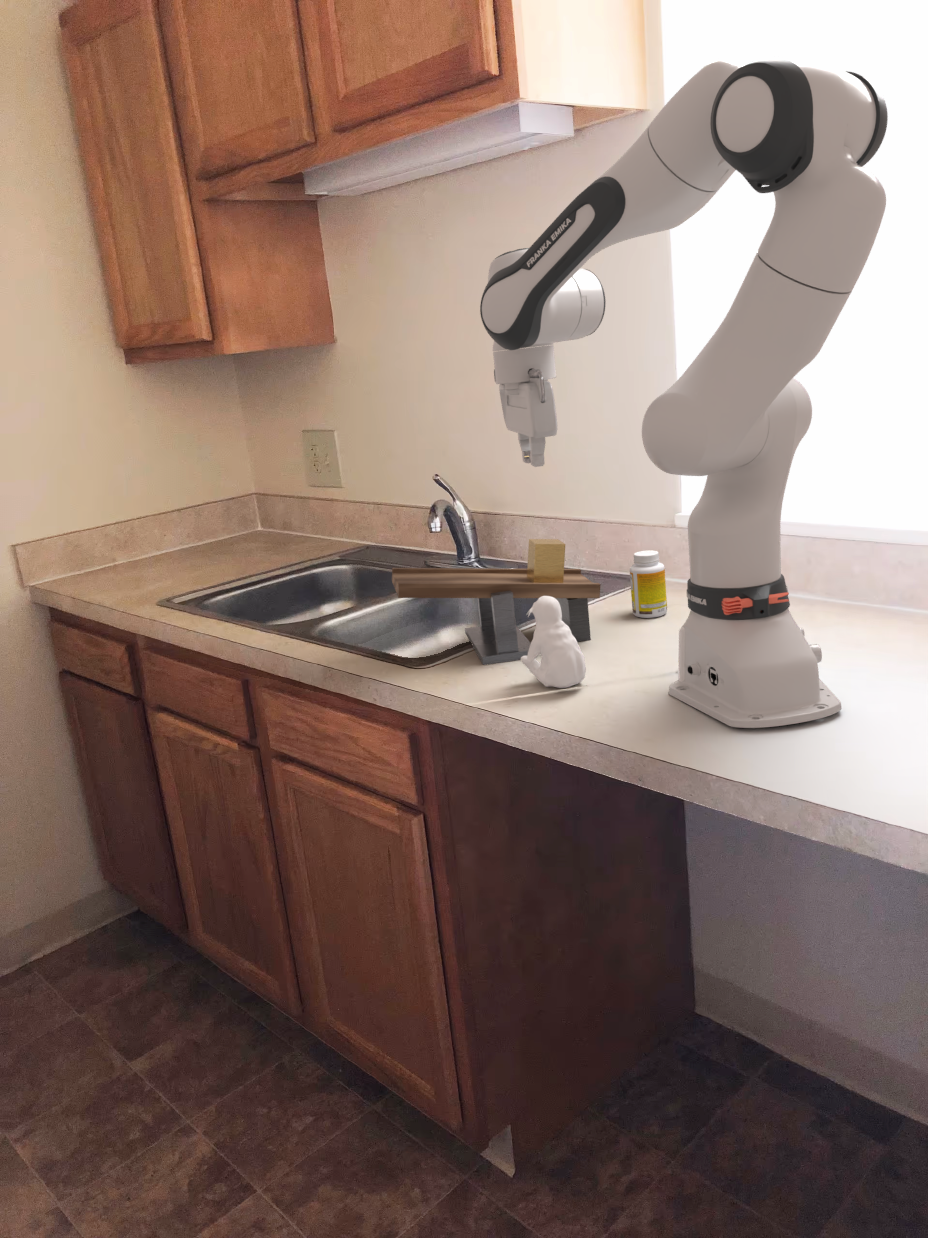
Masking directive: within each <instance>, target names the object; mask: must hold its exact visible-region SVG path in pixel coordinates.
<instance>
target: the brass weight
mask: <svg viewBox="0 0 928 1238" xmlns="http://www.w3.org/2000/svg"><path fill="white" fill-rule="evenodd" d="M527 551H528V552H527V568H526V569H527V578H528V579H529V580H530V581H531V582H532V583H563V577H564V569H565V561H566V560H565V559H566V558H565V557H566V543H564V541H561V540H560V539H559V538H558V539H557V538H555V539H554V538H529V539H528V548H527Z"/></svg>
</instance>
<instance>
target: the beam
mask: <svg viewBox="0 0 928 1238" xmlns="http://www.w3.org/2000/svg"><path fill="white" fill-rule="evenodd" d="M391 582H392V585H393V588H394V590H395V592H396V596H397V597H398V599H477V598H491V593H498V592H505V591H511V592H512V593H513V599H539V598H540V597H542V596H551V597H554V598H555V599H556V598H587V599H600V597H601V583H599V582H593V581H592V580H590V579H588V578H587V577H586V576H584V574H582V570H581V569H580V568H564V577H563V583H532V582H531V581H530V580H529V579H528V578H527V568H503V567H502V568H491V567H490V568H488V567H487V568H486V567H484V568H483V567H482V568H481V567H480V568H479V567H478V568H477V567H475V568H474V567H473V568H468V567H462V568H461V567H460V568H459V567H457V568H456V567H450V568H449V567H392V568H391Z"/></svg>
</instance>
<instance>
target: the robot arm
mask: <svg viewBox="0 0 928 1238" xmlns="http://www.w3.org/2000/svg"><path fill="white" fill-rule="evenodd" d="M888 115H889V114H888V107H887V104H886V100H885V98H884V95H883V94H882V93H881V91H880V89H879V88H878V87H877V86H876V85H875V84H874V83H873V82H872V81H871V80H869V79H867V78H866V77H864V76H863V75H861V74H858V73H856V72H852V71H847V70H846V71H844V70H841V69H838V68H835V67H832V66H830V65H828V64H826V63H823V62H821V61H815V60H809V59H805V60H804V59H788V58H784V57H779V56H778V57H775V56H774V57H767V58H759V59H757V60H753V61H750V62H748V63H744V62H743V61H740V60H736V59H733V58H720V59H719V58H718V59H716V60H713V61H711V62H709V63H707V64H706V65H704V66H703V67H702V68H701V69H700V70H699V71H698V72H697V73H696V74H694V75H693V76H692V77H691V78H690V79H688V81H687V82H686V83H685V84H684V85H683V86H681V87H680V89H679V90H677V92H676V93H675V94H674V95H673V96H672V97H671V98H669V100H668V102H666V103H665V105H664V106H663V107H662V108H661V110H659V112H658V113H657V114H656V116H655V117H654V118H653V120H652V121H651V122H650V123H649V125H647V128H646V129H645V130H644V131H643V132H642V134H641V135H640V136H639V137H638V138H637V139H636V141H634V143H632V145H631V146H630V147H629V148H628V149H627V150H626V152H624V153H623V154H622V156H620V158H619V159H618V160H617V161H616V162H614V164H613V165H611V167H609V168H608V169H607V170H606V171H605V172H604V173H603V174H602V175H600V176H599V177H598V178H596V179H595V180H594V181H593V182H592V183H590V185H588V186H587V187H586V188H585V189H584V190H583V191H581V192H580V193H579V194H578V195H577V196H576V197H575V198H573V200H572V201H571V202H570V203H569V204H568V205H567V206H566V207H565V209H563V211H561V213H560V214H559V215H558V216H557V217H555V219H554V220H553V221H552V223H550V225H549V226H548V227H547V228H546V229H545V230H544V231H543V232H542V233H541V234H540V236H539V237H538V238H537V239H536V240H535V241H534V242H533V243H532V244H531V245H530V246H529V247H524V248H519V249H515V250H509V251H507V252H504V253H502V254H500V255H498V256H497V257H496V258H494V259H493V260H492V261H491V262H490V265H489V269H488V276H487V283H486V285H485V288H484V290H483V293H482V295H481V299H480V306H479V307H480V310H479V315H480V318H481V322H482V325H483V327H484V329H485V331H486V332H487V334H488V335H489V336H490V337H491V339H492V340H493V345H492V355H493V365H494V369H493V378H494V382H495V384H496V385H498V386H499V387H498V389H499V390H498V391H499V396H500V397H499V398H500V403H501V408H502V415H503V420H504V423H505V426H506V429H507V430H508V431H510V432H513V433H517V438H518V439H517V440H518V443H519V448H520V451H521V457H522V462H523V463H525V464H530V465H531V466H532V467H534V468H537V467H544V465H545V461H546V460H545V449H546V438H548V437H554V436H556V435H557V433H558V418H557V407H556V401H555V394H554V389H553V385H552V383H551V382H550V381H549V380H551V379H555V378H557V371H556V370H557V369H556V360H555V359H556V358H555V356H556V355H555V346H554V343H561V342H567V341H574V340H580V339H583V338H585V337H588V336H590V335H592V334H594V333H595V332H596V331H597V330H598V328H599V327H600V325H601V324H602V321H603V319H604V316H605V311H606V304H607V303H606V301H607V300H606V293H605V289H604V286H603V284H602V283H601V281H600V279H599V278H598V276H597V275H596V274H595V273H594V271H591V270H590V269H588V268H582V267H583V266H584V265H585V264H586V263H587V262H588V261H589V260H590V259H592V258H593V256H595V255H597V254H598V253H599V252H601V251H602V250H605V249H607V248H609V247H611V246H614V245H616V244H619V243H621V242H625V241H627V240H631V239H634V238H638V237H639V238H640V237H642V236H647V235H650V234H655V233H659V232H665V231H669V230H672V229H674V228H677V227H679V226H681V225H682V224H684V223H685V222H686V221H687V220H689V219H690V218H692V217H693V216H694V215H695V214H696V213H698V212H699V211H700V210H702V208H704V207H705V206H706V205H707V204H708V203H709V202H710V201H711V199H713V197H714V196H715V195H716V194H717V193H718V192H719V190H720V189H721V188H722V187H723V185H724V184H726V183H727V181H728V180H729V179H730V178H731V176H732V175H733V174H734V173H735V171H737V172H738V173H740V174H741V175H742V177H744V179H745V180H746V181H747V183H748V184H749V185H750V187H751V188H752V189H754V190H755V191H756V193H759V194H768V193H769V194H770V193H773V195H774V200H775V202H774V203H775V208H774V213H773V216H772V219H771V221H770V224H769V226H768V228H767V231H766V233H765V235H764V237H763V239H762V241H761V243H760V245H759V247H758V249H757V251H756V254H755V256H754V257H753V260H752V263H751V264H750V267H749V269H748V271H747V272H746V275H745V276H744V279H743V281H742V284H741V285H740V288H739V289H738V291H737V294H736V296H735V298H734V300H733V301H732V304H731V307H730V308H729V310H728V312H727V314H726V316H725V317H724V318H723V320H722V322H721V323H720V324H719V326H718V328H717V330H716V331H715V332H714V333H713V335H712V336H711V337H710V338H709V340H708V341H707V343H706V344H705V345H704V346H703V348H702V349H701V351H700V352H699V353H698V355H696V357H695V358H694V359H693V361H692V362H691V364H690V365H689V366H688V367H687V369H685V371H684V372H683V373H682V375H681V376H680V377H679V378H678V379H677V380H676V381H675V382H674V383H673V384H672V385H671V386H669V388H667V390H665V391H664V392H663V393H662V394H660V395H659V396H657V397H656V398H655V399H654V400H653V401H652V402H651V403H650V404H649V405H648V407H647V408H646V410H645V414H644V416H643V419H642V424H641V439H642V444H643V448H644V450H645V452H646V455H647V457H648V458H649V460H650V462H652V463H653V465H655V467H657V468H658V469H659V470H660V471H662V472H664V473H666V474H669V475H673V476H674V475H676V476H686V477H687V476H689V477H704V476H706V481H705V483H704V488H703V491H702V494H701V497H700V498H699V500H698V502H697V503H696V506H694V508H693V509H692V511H691V513H690V514H689V518H688V521H687V539H688V556H689V557H688V558H689V559H688V560H689V561H688V562H689V576H690V578H688V580H687V582H686V583H687V585H686V587H687V588H686V597H687V607H688V609H689V610H690V612H689V614H688V616H687V618H686V620H685V622H684V623H683V625H682V626H681V627H680V628H679V630H678V631H679V632H678V673H677V674H678V679H677V680H676V681H674V682H672V683H671V684H669V686H668V694H669V695H670V696H671V697H673V698H676V699H678V700H679V701H681V702H683V703H685V704H687V705H689V706H690V707H693V708H695V709H696V710H698V711H700V712H702V713H704V714H706V715H708V716H710V717H711V718H713V719H715V720H717V721H719V722H721V723H723V724H725V725H727V726H729V727H731V728H741V729H742V728H744V729H755V728H757V729H758V728H760V729H761V728H770V727H779V726H780V727H781V726H787V725H788V726H789V725H794V724H799V723H800V724H801V723H806V722H811V721H816V720H819V719H823V718H826V717H830V716H832V715H834V714H837V713H838V712H840V711H841V710H842V709H843V708H842V702H841V701H840V699H839V698H838V697H837V696H836V695H835V694H834V693H833V691H832V690H831V689H830V688H829V687H828V685H826V684H825V683H824V682H823V680H821V678H820V674H819V672H820V671H819V665H818V663H820V662H821V661H822V659H823V658H822V657H823V653H822V648H821V646H820V644H817V643H814V644H813V643H812V644H809V642H808V641H807V639H806V637H805V630H804V628H803V627H800V626H799V625H798V623H797V622H796V620H795V619H794V617H793V615H792V613H791V612H790V609H789V608H790V606H791V603H790V597H789V594H790V593H789V590H788V586H787V584H786V578H785V576H784V575H783V573H782V560H781V559H782V558H781V556H782V555H781V551H782V550H781V520H782V508H783V502H784V501H783V500H784V497H785V491H786V487H787V482H788V479H789V475H790V470H791V467H792V463H793V459H794V457H795V454H796V451H797V448H798V447H799V445H800V443H801V441H802V440H803V438H804V437H806V436H805V435H806V434H807V433H808V430H809V428H810V426H811V422H812V418H813V417H812V416H813V407H812V401H811V398H810V396H809V393H808V391H807V389H806V388H805V387H804V386H803V384H802V383H801V382H800V381H798V380H797V379H796V378H795V377H796V375H798V373H800V371H802V370H803V369H804V368H806V366H808V365H810V363H811V362H812V361H814V359H815V358H816V357H817V355H818V354H819V353H820V351H821V350H822V348H823V346H824V344H825V342H826V340H827V338H828V336H830V333H831V330H832V329H833V327H834V326H835V323H836V322H837V320H838V318H839V316H840V314H841V312H842V310H843V309H844V307H845V305H846V303H847V301H848V299H849V298H850V295H851V294H852V292H853V289H854V288H855V285H856V284H857V283H858V280H859V278H860V275H861V274H862V272H863V270H864V267H865V265H866V263H867V261H868V259H869V256H870V253H871V251H872V249H873V247H874V243H875V241H876V238H877V235H878V233H879V229H880V227H881V224H882V220H883V217H884V214H885V210H886V206H887V196H886V195H887V194H886V191H885V189H884V187H883V184H882V183H881V182H880V181H879V179H878V178H877V177H876V176H875V175H874V174H873V173H872V172H871V171H870V170H868V169H866V168H865V167H864V166H865V165H867V163H869V162H870V161H871V159H872V158H874V156H875V155H876V153H877V152H878V151H879V149H880V147H881V145H882V143H883V141H884V138H885V135H886V133H887V132H886V131H887V128H888V127H887V126H888V119H889V118H888V117H889V116H888Z"/></svg>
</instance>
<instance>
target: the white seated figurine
mask: <svg viewBox="0 0 928 1238" xmlns="http://www.w3.org/2000/svg"><path fill="white" fill-rule="evenodd" d="M531 614H532V615H533V616H534V619H535V629H534V631H533V637H532V640H531V641H530V643H531V645H530V648H529V651H528V655H527V656H522V657H521V660H520V662H521V664H523V665H524V666H525V667H526V668H527V669H529V672H530V673H531V674H532V675H533V677H535V678H536V680H537V681H539V682H540V683H541V684H542V685H543V686H544V687H553V688H558V689H565V688H571V687H573V686H574V685H577V684H580V683H581V682H582V681H583V680H584V679H585V678H586V671H587V667H586V661H585V660H586V659H585V655H584V653H583V652H582V649H581V647H580V645H579V642H577V640H576V639H575V637H574V636H573V635H572V632H571V630H570V628H569V627H568V625H566V624H565V623H564V622H563V621H562V612H561V607H560V604H559V602H558V601H557V599H556V598H554V597H551V596H542V597H540V598H537V600H536V601H535V602H533V604H532V606H531V608H530V609H529V610H528V611H527V613H526V615H525V616H527V615H528V616H527V618H529V616H531ZM538 655H540V656H541V659H540V661H538V660H537V659H536V658H537V657H538Z"/></svg>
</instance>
